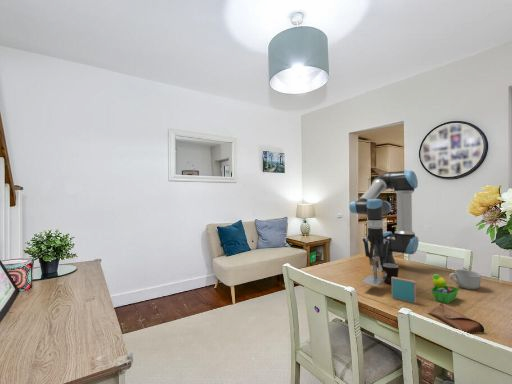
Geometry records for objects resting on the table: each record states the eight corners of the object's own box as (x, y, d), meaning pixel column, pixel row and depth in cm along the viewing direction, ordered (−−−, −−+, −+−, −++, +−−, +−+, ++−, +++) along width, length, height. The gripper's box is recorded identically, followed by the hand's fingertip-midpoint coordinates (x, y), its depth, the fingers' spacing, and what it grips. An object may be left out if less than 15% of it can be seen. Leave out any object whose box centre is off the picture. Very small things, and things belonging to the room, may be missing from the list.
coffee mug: (401, 286, 140) (401, 268, 140) (384, 285, 142) (384, 267, 142) (394, 279, 151) (394, 262, 151) (378, 278, 153) (378, 261, 153)
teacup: (475, 284, 139) (474, 270, 139) (486, 292, 129) (485, 276, 129) (444, 282, 144) (444, 268, 144) (453, 289, 133) (452, 274, 133)
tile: (392, 296, 127) (392, 276, 127) (416, 302, 120) (415, 281, 120) (391, 298, 126) (391, 277, 126) (415, 303, 119) (414, 282, 119)
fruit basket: (449, 305, 116) (448, 280, 116) (427, 298, 124) (427, 275, 124) (459, 299, 122) (459, 275, 122) (438, 293, 130) (438, 270, 130)
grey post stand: (372, 274, 146) (371, 255, 146) (387, 277, 140) (386, 257, 140) (361, 282, 134) (360, 262, 134) (377, 286, 129) (376, 265, 129)
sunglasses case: (424, 312, 110) (430, 298, 111) (436, 319, 111) (443, 305, 112) (465, 335, 92) (473, 318, 93) (479, 343, 94) (487, 326, 94)
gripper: (357, 227, 142) (359, 269, 143) (389, 229, 131) (390, 275, 132) (362, 225, 148) (364, 266, 148) (393, 227, 137) (395, 271, 137)
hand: (376, 270), depth 140 cm, fingers closed on grey post stand, 3 cm apart
